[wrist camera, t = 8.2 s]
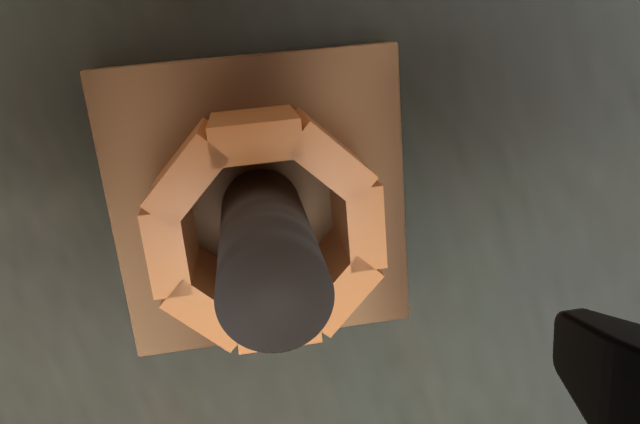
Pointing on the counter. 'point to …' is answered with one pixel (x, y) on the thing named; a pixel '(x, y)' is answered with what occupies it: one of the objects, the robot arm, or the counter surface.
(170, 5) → the counter surface
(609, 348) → the robot arm
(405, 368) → the counter surface
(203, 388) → the counter surface
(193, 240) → the ring
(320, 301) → the shaft post
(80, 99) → the counter surface
